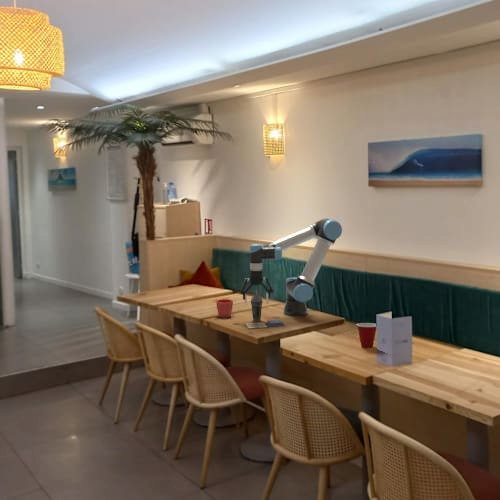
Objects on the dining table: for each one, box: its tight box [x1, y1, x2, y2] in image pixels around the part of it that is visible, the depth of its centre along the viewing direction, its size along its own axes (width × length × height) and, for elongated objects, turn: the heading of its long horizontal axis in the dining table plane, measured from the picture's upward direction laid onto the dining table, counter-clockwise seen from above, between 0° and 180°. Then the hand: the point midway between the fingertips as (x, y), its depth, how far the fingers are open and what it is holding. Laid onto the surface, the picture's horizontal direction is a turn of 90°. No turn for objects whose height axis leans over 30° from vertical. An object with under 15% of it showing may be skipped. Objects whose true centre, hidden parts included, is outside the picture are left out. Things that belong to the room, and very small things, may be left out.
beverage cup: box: [250, 287, 263, 322], centre depth 384 cm, size 7×7×20 cm
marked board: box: [244, 322, 270, 330], centre depth 370 cm, size 12×12×1 cm
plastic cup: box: [356, 322, 377, 349], centre depth 322 cm, size 11×11×12 cm
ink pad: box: [265, 319, 285, 328], centre depth 373 cm, size 9×9×2 cm
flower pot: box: [215, 299, 234, 318], centre depth 398 cm, size 11×11×10 cm
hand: (256, 304), depth 384 cm, fingers open, 13 cm apart
